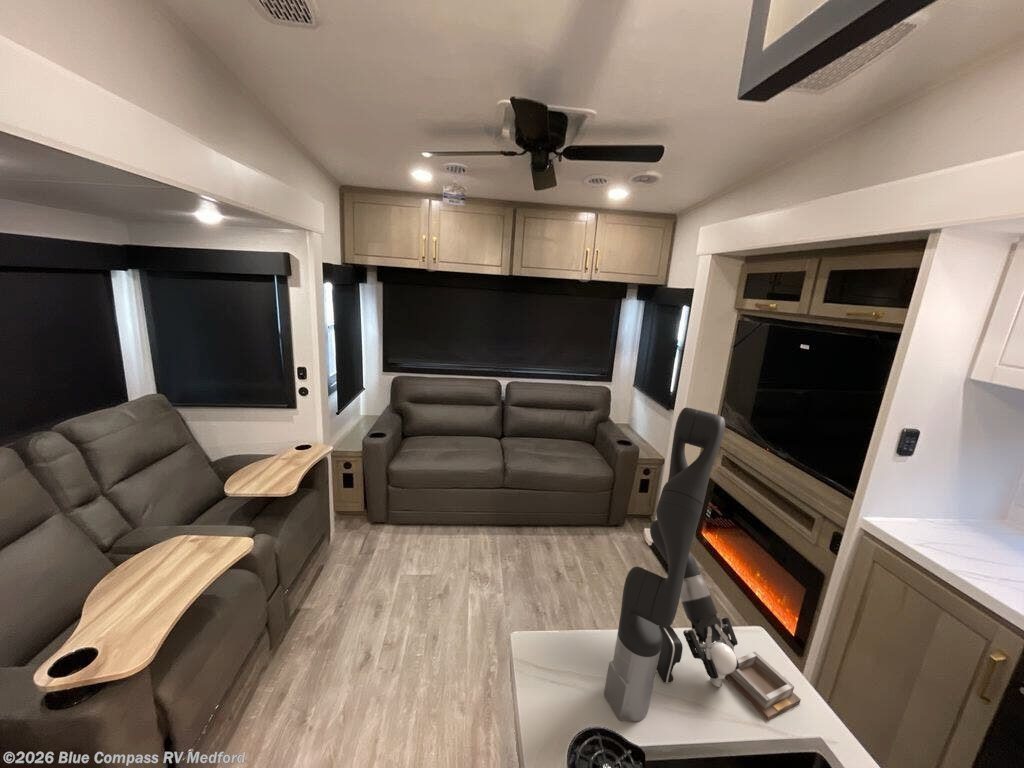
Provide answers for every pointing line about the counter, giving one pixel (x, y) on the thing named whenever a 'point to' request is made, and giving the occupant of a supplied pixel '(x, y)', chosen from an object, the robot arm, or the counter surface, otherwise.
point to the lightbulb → (722, 661)
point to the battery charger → (669, 654)
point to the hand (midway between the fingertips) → (725, 673)
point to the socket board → (763, 686)
